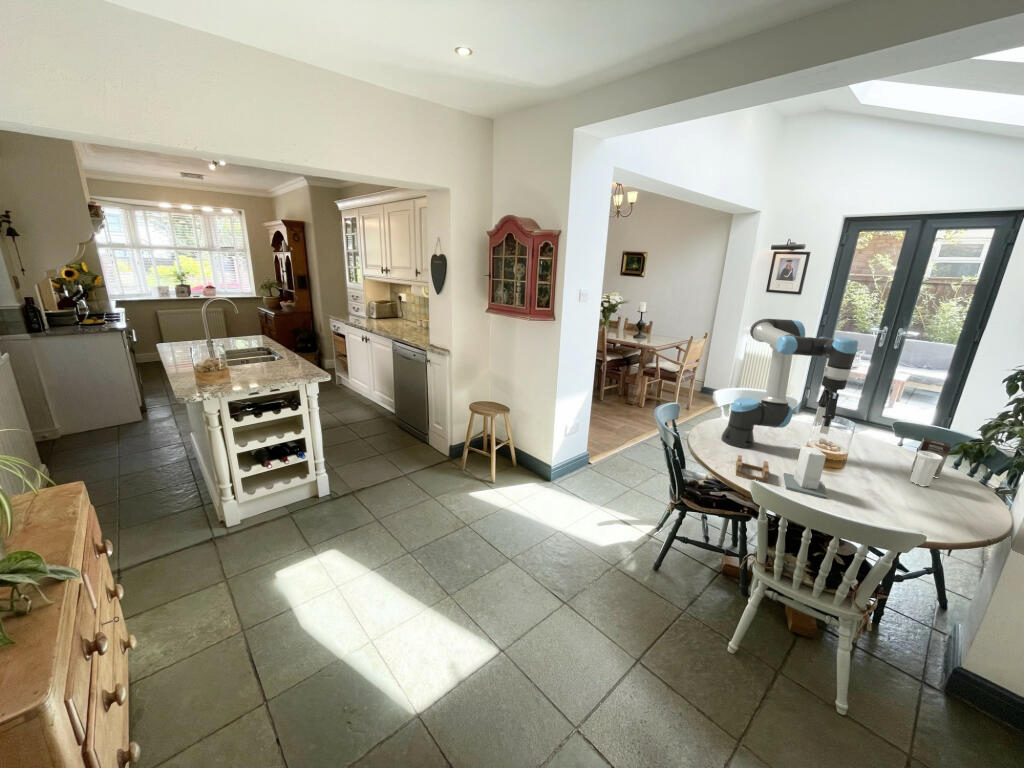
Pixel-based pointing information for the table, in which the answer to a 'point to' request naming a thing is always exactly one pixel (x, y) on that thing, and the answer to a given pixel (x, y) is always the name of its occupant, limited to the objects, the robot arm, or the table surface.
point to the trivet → (794, 486)
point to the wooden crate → (764, 470)
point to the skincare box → (809, 467)
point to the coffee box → (935, 451)
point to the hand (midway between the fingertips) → (820, 427)
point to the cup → (925, 467)
